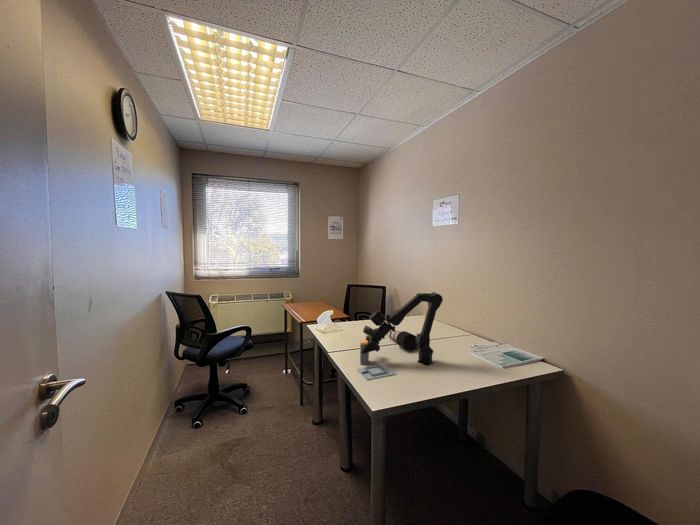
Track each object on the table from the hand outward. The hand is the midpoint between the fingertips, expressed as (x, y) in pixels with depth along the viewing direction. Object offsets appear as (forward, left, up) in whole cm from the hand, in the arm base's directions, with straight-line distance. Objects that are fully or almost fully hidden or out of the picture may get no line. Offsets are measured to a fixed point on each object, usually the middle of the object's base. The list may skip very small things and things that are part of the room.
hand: (361, 351), depth 151 cm
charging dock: (-13, +2, -7) cm, 15 cm away
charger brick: (-1, -1, -7) cm, 7 cm away
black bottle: (+8, -41, -7) cm, 42 cm away
